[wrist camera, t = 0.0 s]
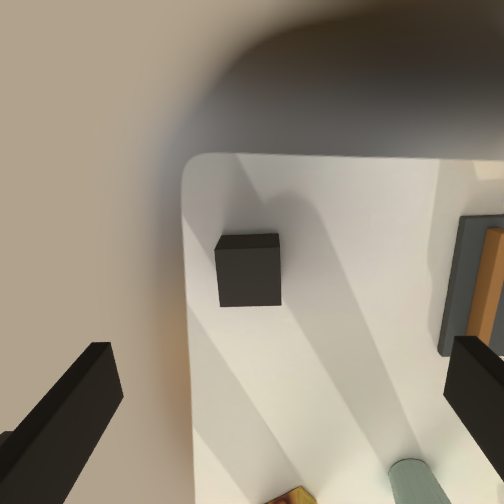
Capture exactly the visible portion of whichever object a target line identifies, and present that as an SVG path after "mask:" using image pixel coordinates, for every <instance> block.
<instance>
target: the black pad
mask: <svg viewBox="0 0 504 504" xmlns="http://www.w3.org/2000/svg"><path fill="white" fill-rule="evenodd" d="M214 251H215V261H216V271H217V281H218V291H219V301H220V307H244V306H281V268H280V243H279V235H278V233H276V234H251V235H226V236H221V237H220V239H219V241H218V243H217V245H216V247H215V249H214Z"/></svg>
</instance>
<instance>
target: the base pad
mask: <svg viewBox="0 0 504 504" xmlns="http://www.w3.org/2000/svg"><path fill="white" fill-rule="evenodd" d="M454 336H477V337H478V338H479V339H480V340H481V341H482V342H483V343H485V344H486V345H487V346H488V347H489V348H490V349H491V350H492V351H493V352H494V353H495V354H496V355H498V356H504V215H484V216H461V217H460V222H459V228H458V234H457V240H456V246H455V252H454V257H453V263H452V269H451V275H450V281H449V287H448V293H447V298H446V304H445V310H444V316H443V322H442V328H441V334H440V339H439V345H438V353H439V354H440V355H441V356H442V357H450V356H451V351H452V346H453V340H454Z"/></svg>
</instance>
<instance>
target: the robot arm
mask: <svg viewBox="0 0 504 504" xmlns="http://www.w3.org/2000/svg"><path fill="white" fill-rule="evenodd" d="M443 395H444V397H445V398H446V400H447V401H448V402H449V404H450V405H451V407H452V408H453V410H454V411H455V413H456V414H457V415H458V417H459V418H460V420H461V421H462V423H463V424H464V425H465V427H466V428H467V430H468V431H469V433H470V434H471V436H472V437H473V438H474V440H475V441H476V443H477V444H478V446H479V447H480V448H481V450H482V451H483V453H484V454H485V456H486V457H487V459H488V460H489V461H490V463H491V464H492V466H493V467H494V469H495V470H496V471H497V473H498V474H499V476H500V477H501V479H502V480H503V482H504V361H503V360H502V359H501V358H500V357H499V356H498V355H496V354H495V353H494V352H493V351H492V350H491V349H490V348H489V347H488V346H487V345H486V344H485V343H483V342H482V341H481V340H480V339H479V338H478V337H477V336H454V340H453V346H452V351H451V356H450V362H449V367H448V372H447V378H446V383H445V388H444V393H443ZM123 397H124V396H123V392H122V388H121V384H120V379H119V376H118V372H117V367H116V363H115V359H114V355H113V351H112V347H111V343H110V342H92V343H91V344H90V345H89V346H88V347H87V348H86V350H85V351H84V352H83V353H82V354H81V355H80V356H79V357H78V359H77V360H76V361H75V362H74V363H73V364H72V365H71V367H70V368H69V369H68V370H67V371H66V372H65V373H64V374H63V376H62V377H61V378H60V379H59V380H58V381H57V382H56V383H55V385H54V386H53V387H52V388H51V389H50V390H49V391H48V393H47V394H46V395H45V396H44V397H43V398H42V399H41V401H40V402H39V403H38V404H37V405H36V406H35V407H34V409H33V410H32V411H31V412H30V413H29V414H28V415H27V416H26V417H25V419H24V420H23V421H22V422H21V423H20V424H19V426H18V427H17V428H16V429H15V430H14V431H5V432H3V433H2V434H0V504H63V503H64V501H65V499H66V497H67V496H68V494H69V492H70V491H71V489H72V487H73V485H74V483H75V482H76V480H77V478H78V476H79V475H80V473H81V471H82V469H83V468H84V466H85V464H86V462H87V461H88V459H89V457H90V455H91V454H92V452H93V450H94V448H95V447H96V445H97V443H98V441H99V440H100V438H101V436H102V434H103V432H104V431H105V429H106V427H107V425H108V424H109V422H110V420H111V418H112V417H113V415H114V413H115V411H116V410H117V408H118V406H119V404H120V403H121V401H122V399H123Z"/></svg>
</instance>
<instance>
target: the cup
mask: <svg viewBox="0 0 504 504" xmlns="http://www.w3.org/2000/svg"><path fill="white" fill-rule="evenodd" d="M389 479H390V483H391V487H392V491H393V495H394V499H395V503H396V504H451V502H450V500H449V499H448V497H447V496H446V494H445V492H444V491H443V489H442V488H441V486H440V484H439V483H438V481H437V479H436V478H435V476H434V475H433V473H432V472H431V470H430V468H429V467H428V466H427V465H426V464H425V463H424V462H422V461H419V460H415V459H407V460H402V461H400V462H398V463H396V464H395V465H393V466H392V468H391V469H390V471H389Z"/></svg>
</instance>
